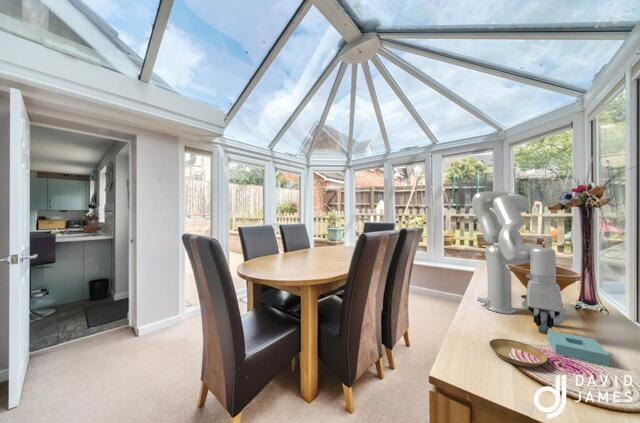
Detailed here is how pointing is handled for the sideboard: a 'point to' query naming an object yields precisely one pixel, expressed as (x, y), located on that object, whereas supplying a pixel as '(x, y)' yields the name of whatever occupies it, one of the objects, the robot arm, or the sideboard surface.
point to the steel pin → (543, 321)
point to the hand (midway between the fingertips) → (543, 325)
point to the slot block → (578, 348)
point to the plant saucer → (505, 346)
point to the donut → (559, 319)
